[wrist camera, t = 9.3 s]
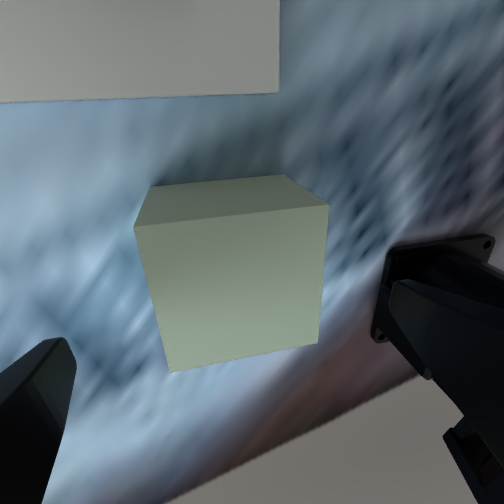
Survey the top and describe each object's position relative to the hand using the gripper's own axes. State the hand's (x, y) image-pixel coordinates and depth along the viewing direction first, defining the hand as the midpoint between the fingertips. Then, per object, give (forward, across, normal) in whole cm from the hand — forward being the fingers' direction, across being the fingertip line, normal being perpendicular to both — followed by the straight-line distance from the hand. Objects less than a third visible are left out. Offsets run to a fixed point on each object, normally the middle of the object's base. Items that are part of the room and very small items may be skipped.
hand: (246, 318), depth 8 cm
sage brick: (+6, 0, 0) cm, 6 cm away
